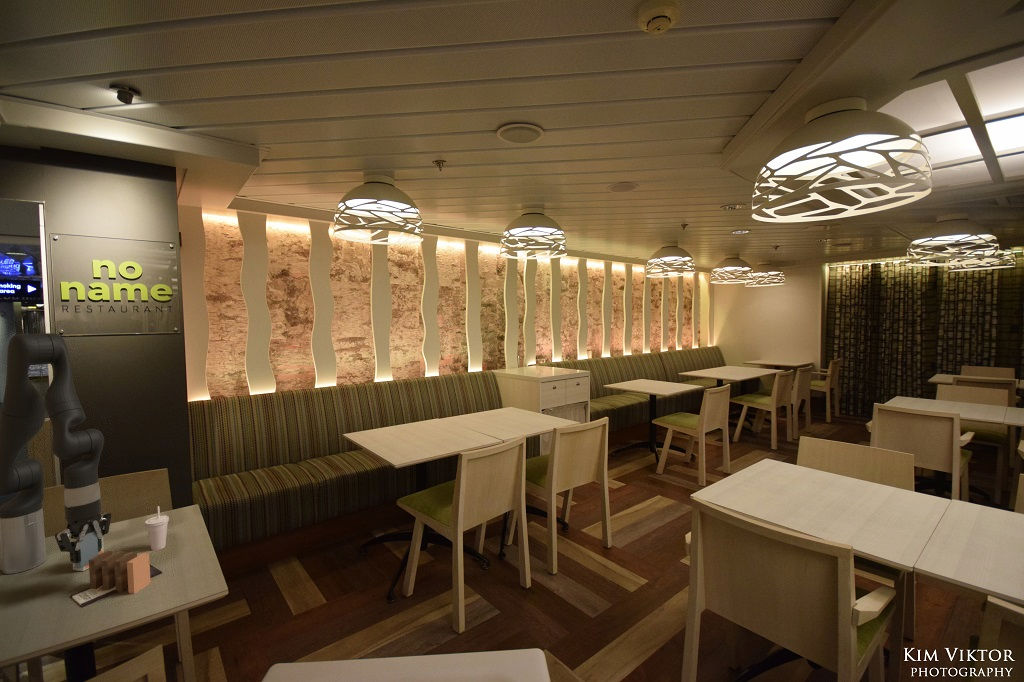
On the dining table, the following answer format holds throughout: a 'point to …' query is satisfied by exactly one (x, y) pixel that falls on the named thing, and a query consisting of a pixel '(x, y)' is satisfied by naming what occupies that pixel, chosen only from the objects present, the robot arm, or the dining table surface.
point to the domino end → (138, 573)
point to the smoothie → (157, 530)
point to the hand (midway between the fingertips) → (86, 556)
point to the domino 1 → (87, 549)
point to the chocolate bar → (102, 591)
